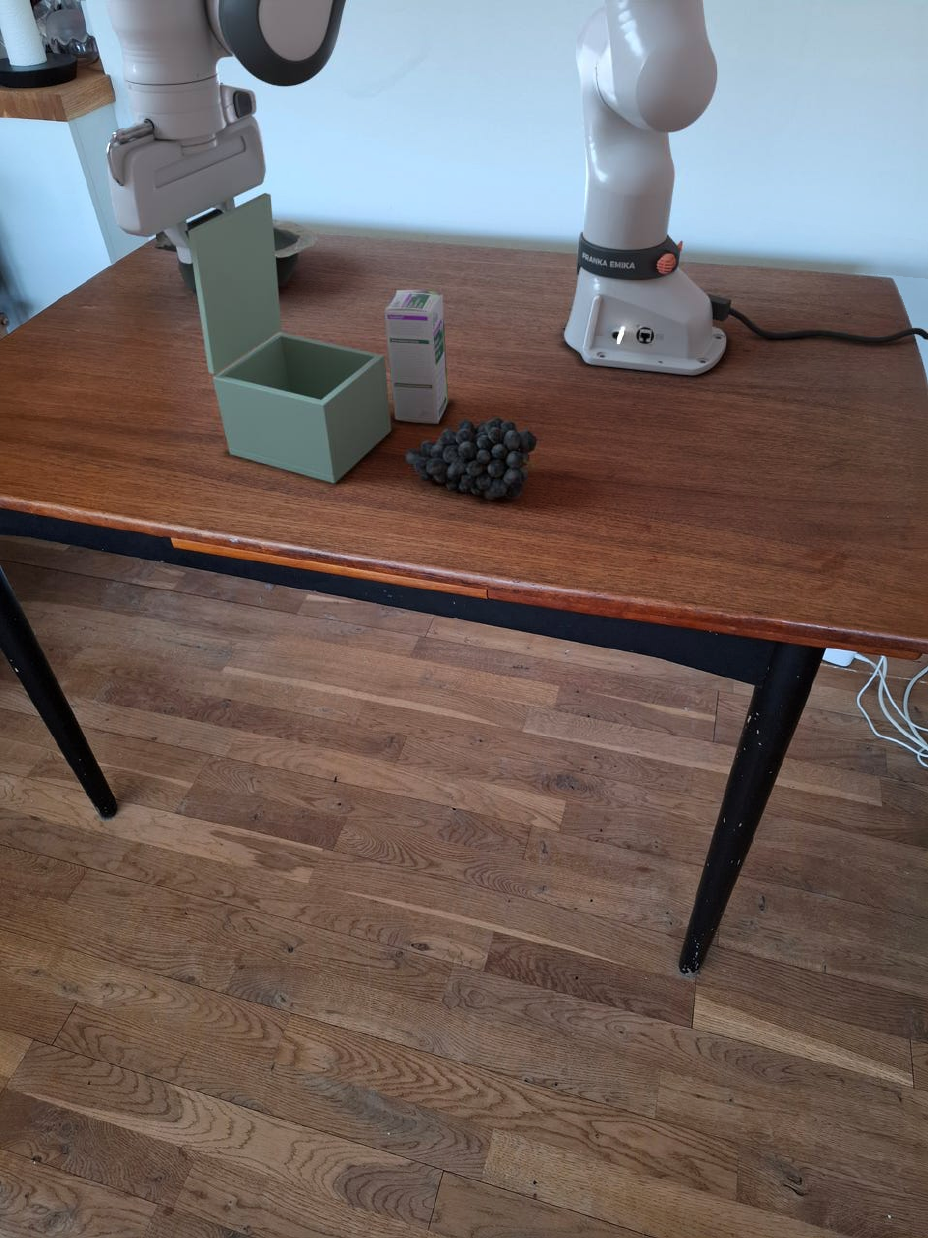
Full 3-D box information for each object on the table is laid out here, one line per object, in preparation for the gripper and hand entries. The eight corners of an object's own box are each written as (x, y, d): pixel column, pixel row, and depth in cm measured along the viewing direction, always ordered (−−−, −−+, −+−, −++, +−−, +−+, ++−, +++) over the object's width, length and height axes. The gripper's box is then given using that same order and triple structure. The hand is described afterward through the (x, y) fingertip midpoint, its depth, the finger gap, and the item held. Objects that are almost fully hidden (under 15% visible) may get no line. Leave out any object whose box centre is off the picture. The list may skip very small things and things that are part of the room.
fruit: (393, 413, 94) (531, 431, 90) (420, 401, 101) (549, 416, 97) (391, 493, 97) (524, 513, 93) (417, 475, 104) (542, 493, 101)
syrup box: (438, 425, 110) (433, 310, 100) (392, 420, 110) (383, 307, 101) (448, 402, 114) (444, 290, 104) (404, 398, 115) (396, 287, 105)
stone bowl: (147, 310, 136) (131, 247, 130) (193, 261, 155) (181, 204, 150) (307, 307, 135) (298, 243, 129) (333, 258, 154) (326, 200, 148)
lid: (270, 194, 96) (232, 183, 97) (194, 232, 87) (153, 220, 89) (281, 329, 107) (247, 317, 108) (214, 374, 98) (178, 361, 100)
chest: (391, 430, 109) (385, 354, 102) (334, 483, 100) (323, 405, 94) (291, 405, 114) (279, 331, 107) (229, 454, 105) (212, 377, 99)
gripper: (129, 138, 79) (165, 291, 88) (265, 89, 93) (285, 227, 102) (76, 131, 81) (117, 281, 91) (217, 84, 95) (240, 219, 104)
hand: (207, 252), depth 96 cm, fingers open, 4 cm apart
